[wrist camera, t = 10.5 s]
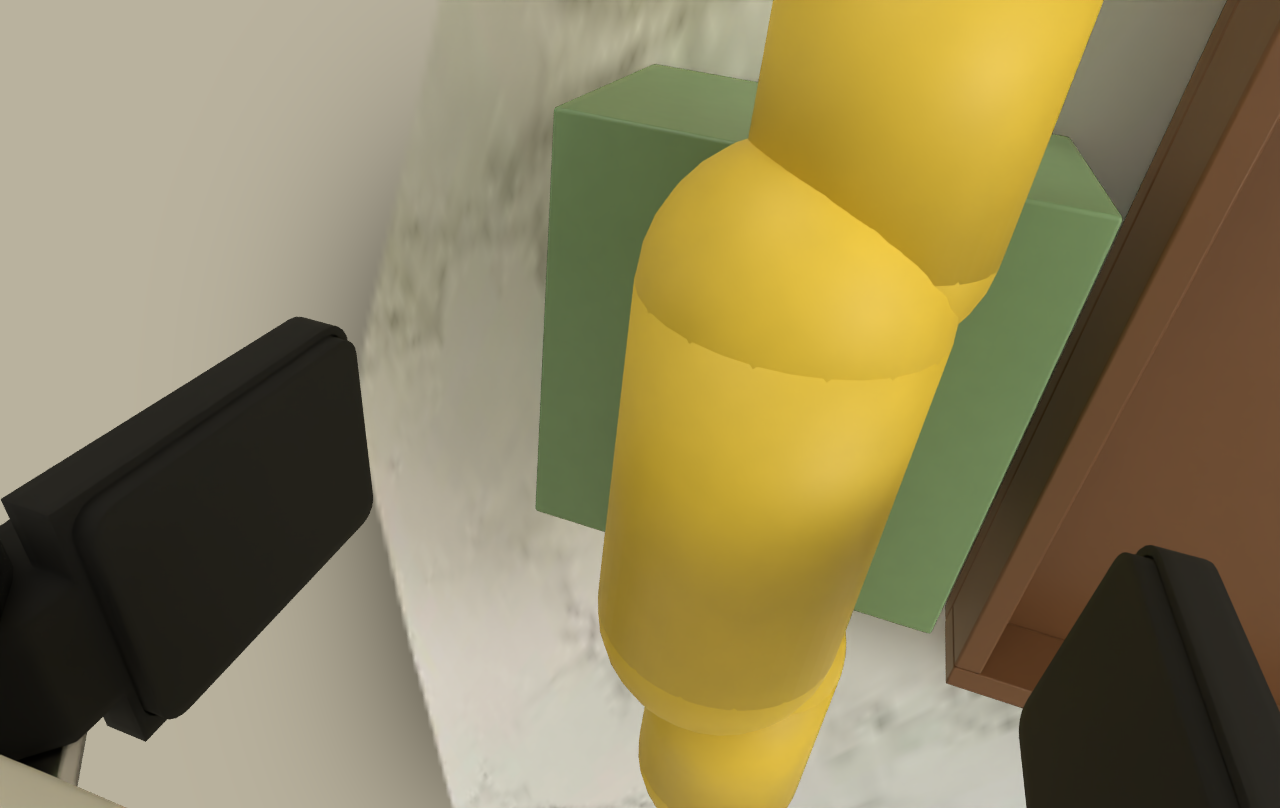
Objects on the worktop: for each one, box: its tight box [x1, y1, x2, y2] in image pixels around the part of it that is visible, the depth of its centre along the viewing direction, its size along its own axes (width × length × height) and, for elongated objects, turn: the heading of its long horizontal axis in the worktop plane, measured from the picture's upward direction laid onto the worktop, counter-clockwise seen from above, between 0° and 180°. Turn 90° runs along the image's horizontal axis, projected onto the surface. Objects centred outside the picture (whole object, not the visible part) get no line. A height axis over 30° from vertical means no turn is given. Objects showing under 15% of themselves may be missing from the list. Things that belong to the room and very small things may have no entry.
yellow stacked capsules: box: [598, 0, 1104, 808], centre depth 11 cm, size 17×4×4 cm, turn 174°
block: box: [536, 64, 1122, 633], centre depth 15 cm, size 8×8×5 cm
